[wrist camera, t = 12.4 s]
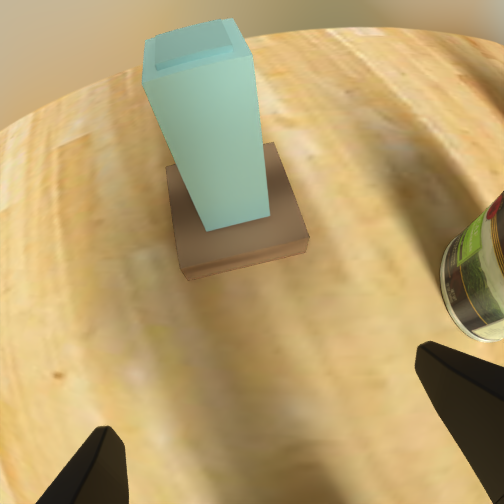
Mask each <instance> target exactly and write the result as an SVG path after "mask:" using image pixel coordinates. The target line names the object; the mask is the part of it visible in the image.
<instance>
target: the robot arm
mask: <svg viewBox="0 0 504 504" xmlns="http://www.w3.org/2000/svg"><path fill="white" fill-rule="evenodd" d="M415 371H416V373H417V375H418V377H419V379H420V381H421V383H422V385H423V387H424V389H425V391H426V393H427V395H428V396H429V398H430V400H431V402H432V404H433V406H434V408H435V410H436V412H437V413H438V415H439V417H440V418H441V420H442V421H443V423H444V424H445V426H446V427H447V429H448V430H449V432H450V433H451V435H452V437H453V438H454V440H455V441H456V443H457V444H458V446H459V448H460V449H461V451H462V452H463V454H464V456H465V457H466V459H467V460H468V462H469V464H470V465H471V467H472V469H473V470H474V472H475V474H476V475H477V477H478V479H479V480H480V482H481V484H482V485H483V487H484V489H485V490H486V492H487V494H488V496H489V497H490V499H491V501H492V503H493V504H504V367H502V366H499V365H496V364H493V363H490V362H488V361H485V360H482V359H479V358H477V357H474V356H471V355H468V354H466V353H463V352H460V351H457V350H455V349H452V348H449V347H446V346H444V345H441V344H438V343H436V342H433V341H427V342H425V343H423V344H420V345H419V346H418V348H417V352H416V360H415ZM36 504H129V488H128V477H127V466H126V454H125V446H124V443H123V441H122V440H121V439H120V438H119V436H118V435H117V434H116V432H115V431H114V430H113V429H112V427H110V426H99V427H97V428H95V429H94V431H93V432H92V433H91V434H90V436H89V437H88V438H87V439H86V441H85V442H84V443H83V444H82V446H81V447H80V448H79V449H78V451H77V452H76V453H75V454H74V456H73V457H72V458H71V459H70V461H69V462H68V463H67V464H66V466H65V467H64V468H63V469H62V471H61V472H60V473H59V474H58V476H57V477H56V478H55V480H54V481H53V482H52V483H51V485H50V486H49V487H48V488H47V490H46V491H45V492H44V493H43V495H42V496H41V497H40V498H39V500H38V501H37V502H36Z"/></svg>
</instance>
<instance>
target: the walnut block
mask: <svg viewBox="0 0 504 504" xmlns="http://www.w3.org/2000/svg"><path fill="white" fill-rule="evenodd" d="M263 151H264V160H265V170H266V180H267V189H268V199H269V210H270V216H268V217H264V218H260V219H256V220H251V221H247V222H243V223H239V224H235V225H231V226H227V227H223V228H219V229H215V230H211V231H207V232H206V230H205V227H204V225H203V223H202V221H201V219H200V216H199V214H198V212H197V210H196V208H195V205H194V203H193V201H192V199H191V197H190V194H189V192H188V190H187V188H186V185H185V183H184V181H183V179H182V176H181V174H180V172H179V170H178V167H177V165H176V164H174V165H171V166H167V167H166V174H167V182H168V190H169V198H170V206H171V213H172V220H173V227H174V234H175V241H176V247H177V253H178V260H179V266H180V269H181V271H182V272H183V274H184V275H185V277H186V278H187V280H188V281H189V280H193V279H197V278H202V277H206V276H210V275H214V274H218V273H223V272H227V271H231V270H235V269H239V268H243V267H248V266H252V265H256V264H260V263H264V262H268V261H272V260H276V259H280V258H285V257H289V256H293V255H297V254H301V253H305V252H306V249H307V245H308V241H309V238H310V237H309V234H308V232H307V229H306V226H305V223H304V220H303V218H302V215H301V212H300V209H299V207H298V204H297V201H296V199H295V196H294V193H293V191H292V188H291V185H290V183H289V180H288V177H287V175H286V172H285V170H284V167H283V164H282V162H281V159H280V157H279V154H278V152H277V149H276V147H275V144H274V142H272V143H266V144H263Z"/></svg>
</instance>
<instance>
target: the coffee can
mask: <svg viewBox="0 0 504 504" xmlns="http://www.w3.org/2000/svg"><path fill="white" fill-rule="evenodd" d="M440 283H441V290H442V295H443V299H444V302H445V304H446V307H447V309H448V312H449V313H450V315H451V317H452V319H453V320H454V322H455V323H456V324H457V326H458V327H459V328H460V329H461V330H462V331H463V332H464V333H465V334H466V335H468V336H469V337H471V338H473V339H475V340H477V341H480V342H496V341H499V340H501V339H503V338H504V191H503V192H502V193H501V195H500V196H499V197H498V198H497V199H496V200H495V201H494V202H493V203H492V204H491V205H490V206H489V207H488V208H487V209H486V210H485V211H484V212H483V213H482V214H481V215H480V216H479V217H478V218H477V219H476V220H475V221H474V222H473V223H472V224H471V225H469V226H468V227H467V228H466V229H465V230H464V231H463V232H462V233H461V234H460V235H458V236H457V237H455V238H454V239H453V240H452V241H451V242H450V244H449V245H448V247H447V248H446V250H445V252H444V255H443V258H442V262H441V268H440Z"/></svg>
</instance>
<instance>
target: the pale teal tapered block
mask: <svg viewBox="0 0 504 504" xmlns="http://www.w3.org/2000/svg"><path fill="white" fill-rule="evenodd" d="M142 85H143V88H144V90H145V93H146V95H147V97H148V100H149V102H150V105H151V107H152V109H153V112H154V114H155V116H156V119H157V121H158V123H159V126H160V128H161V130H162V133H163V135H164V137H165V140H166V142H167V144H168V147H169V149H170V151H171V154H172V156H173V158H174V161H175V163H176V165H177V167H178V170H179V172H180V174H181V176H182V179H183V181H184V183H185V185H186V188H187V190H188V192H189V194H190V197H191V199H192V201H193V203H194V205H195V208H196V210H197V212H198V214H199V216H200V219H201V221H202V223H203V225H204V227H205V230H206V232H207V231H211V230H215V229H219V228H223V227H227V226H231V225H235V224H239V223H243V222H247V221H251V220H256V219H260V218H264V217H268V216H270V210H269V199H268V189H267V180H266V170H265V160H264V151H263V141H262V132H261V123H260V114H259V105H258V97H257V88H256V80H255V71H254V63H253V55H252V53H251V51H250V49H249V47H248V45H247V44H246V42H245V40H244V38H243V36H242V34H241V32H240V31H239V29H238V27H237V25H236V23H235V21H234V20H233V18H230V19H225V20H221V19H218V20H213V21H209V22H205V23H200V24H196V25H192V26H188V27H184V28H180V29H176V30H173V31H169V32H166V33H163V34H159V35H156V37H154V38H151V39H148V40H145V49H144V60H143V73H142Z"/></svg>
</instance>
